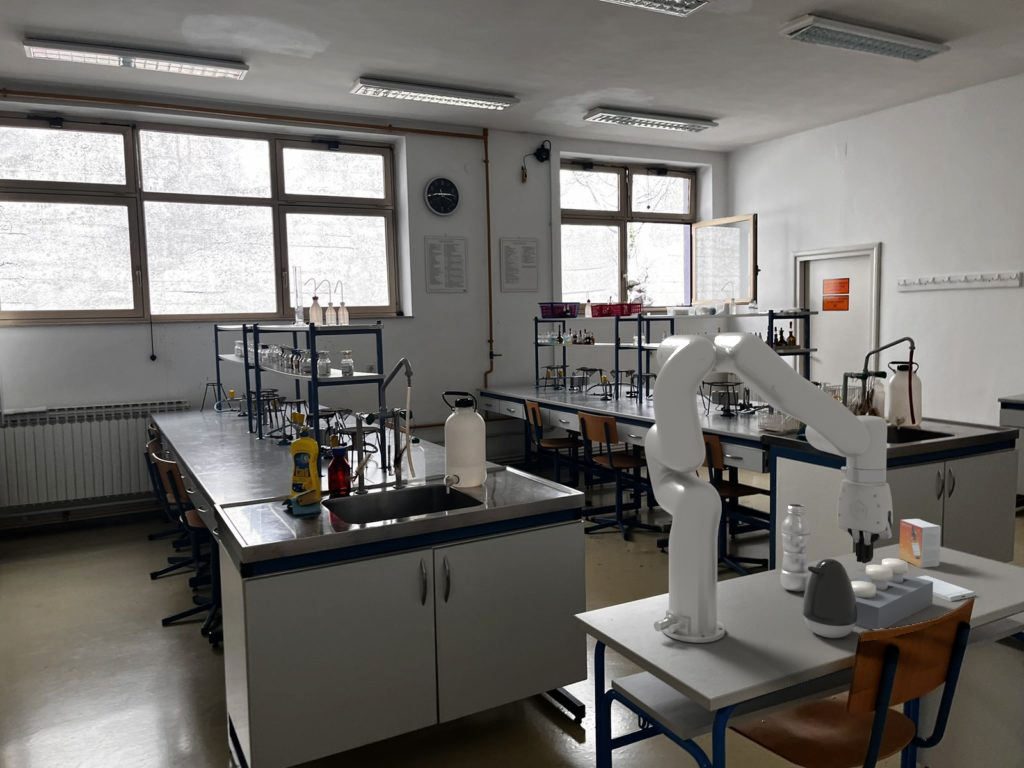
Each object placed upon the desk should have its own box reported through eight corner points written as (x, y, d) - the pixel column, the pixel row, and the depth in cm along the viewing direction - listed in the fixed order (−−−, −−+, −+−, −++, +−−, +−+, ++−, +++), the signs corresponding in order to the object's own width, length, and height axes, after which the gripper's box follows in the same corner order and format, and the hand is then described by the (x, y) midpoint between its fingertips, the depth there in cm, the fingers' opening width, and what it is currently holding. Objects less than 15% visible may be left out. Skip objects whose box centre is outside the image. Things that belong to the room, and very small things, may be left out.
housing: (878, 632, 152) (878, 607, 151) (822, 614, 161) (822, 591, 161) (932, 603, 166) (933, 581, 166) (878, 589, 176) (878, 568, 175)
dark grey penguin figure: (790, 627, 155) (791, 554, 154) (831, 620, 158) (832, 549, 157) (826, 647, 145) (827, 570, 144) (868, 639, 149) (870, 563, 147)
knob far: (900, 593, 164) (901, 567, 164) (876, 586, 168) (877, 561, 168) (911, 587, 167) (912, 562, 167) (888, 581, 171) (888, 556, 171)
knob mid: (884, 600, 160) (885, 574, 159) (860, 594, 164) (861, 568, 164) (896, 595, 163) (897, 568, 163) (872, 588, 167) (873, 563, 167)
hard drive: (902, 579, 179) (950, 596, 168) (926, 574, 182) (975, 590, 171) (902, 586, 179) (950, 603, 168) (926, 581, 182) (975, 598, 171)
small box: (898, 558, 198) (899, 519, 197) (917, 557, 199) (918, 517, 198) (920, 568, 190) (922, 527, 189) (940, 566, 191) (941, 525, 190)
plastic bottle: (815, 594, 173) (816, 508, 171) (785, 594, 173) (786, 509, 172) (804, 585, 179) (806, 502, 178) (776, 585, 180) (777, 502, 178)
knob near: (867, 618, 156) (868, 591, 155) (843, 611, 160) (844, 584, 160) (880, 612, 159) (880, 585, 159) (856, 605, 163) (856, 579, 163)
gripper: (822, 472, 161) (821, 556, 163) (893, 483, 149) (891, 574, 151) (841, 467, 166) (839, 549, 167) (911, 478, 154) (909, 566, 155)
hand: (864, 561), depth 159 cm, fingers closed
